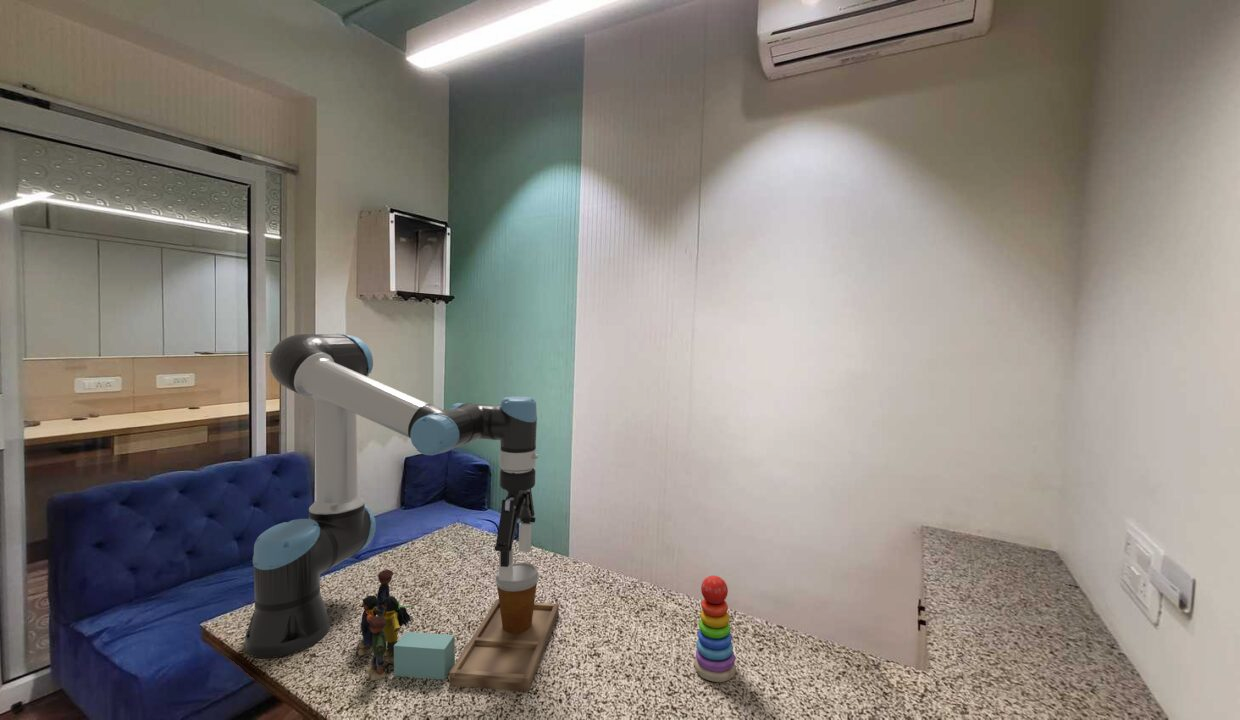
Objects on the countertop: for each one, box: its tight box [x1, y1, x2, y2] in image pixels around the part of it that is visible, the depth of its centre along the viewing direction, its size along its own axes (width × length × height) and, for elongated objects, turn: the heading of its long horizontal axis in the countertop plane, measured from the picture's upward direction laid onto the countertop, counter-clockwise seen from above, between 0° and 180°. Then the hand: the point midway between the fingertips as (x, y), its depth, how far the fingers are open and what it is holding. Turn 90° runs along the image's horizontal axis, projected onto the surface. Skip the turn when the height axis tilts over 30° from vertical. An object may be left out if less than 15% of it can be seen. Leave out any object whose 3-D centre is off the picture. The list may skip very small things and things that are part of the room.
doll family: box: [357, 569, 414, 681], centre depth 103 cm, size 23×9×13 cm, turn 41°
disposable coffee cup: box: [494, 562, 540, 633], centre depth 109 cm, size 10×10×12 cm
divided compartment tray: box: [448, 599, 560, 693], centre depth 104 cm, size 15×26×2 cm, turn 175°
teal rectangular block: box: [393, 631, 456, 681], centre depth 96 cm, size 10×4×6 cm, turn 85°
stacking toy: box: [693, 575, 737, 683], centre depth 97 cm, size 8×8×19 cm
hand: (515, 564), depth 108 cm, fingers open, 13 cm apart
